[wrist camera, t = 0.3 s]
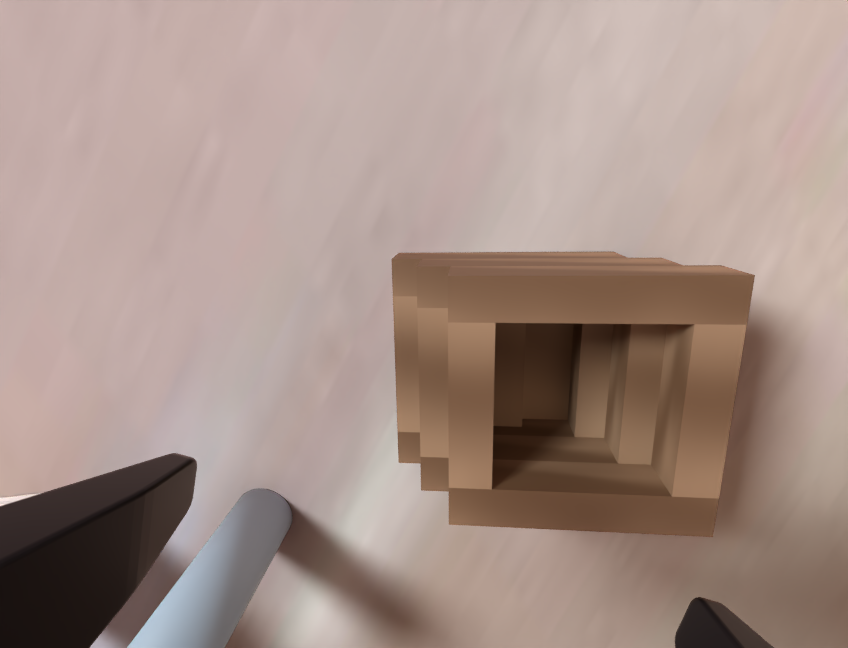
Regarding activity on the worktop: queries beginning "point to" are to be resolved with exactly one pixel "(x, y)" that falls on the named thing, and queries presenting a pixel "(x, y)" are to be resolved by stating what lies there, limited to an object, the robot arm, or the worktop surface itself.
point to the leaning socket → (569, 386)
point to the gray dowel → (220, 577)
